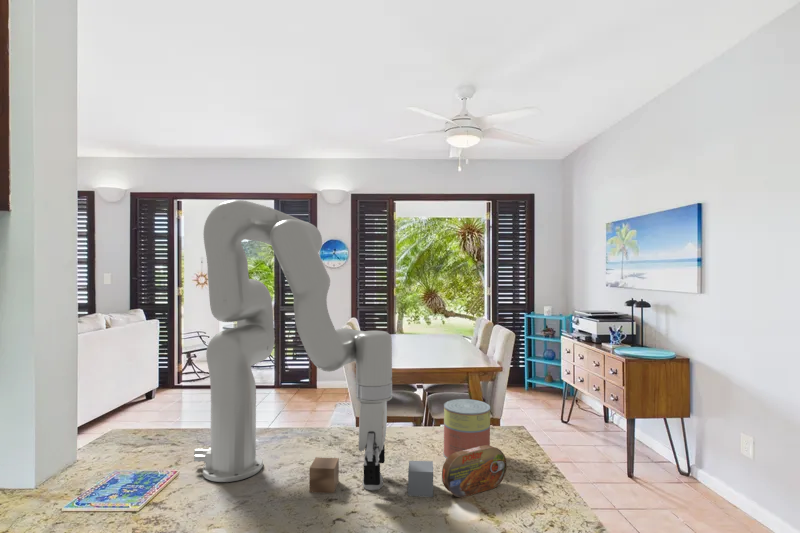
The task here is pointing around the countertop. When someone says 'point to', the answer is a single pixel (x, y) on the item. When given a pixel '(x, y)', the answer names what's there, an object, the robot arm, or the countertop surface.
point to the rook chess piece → (374, 487)
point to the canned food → (465, 425)
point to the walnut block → (324, 475)
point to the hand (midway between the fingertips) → (374, 472)
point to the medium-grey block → (420, 478)
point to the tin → (474, 470)
